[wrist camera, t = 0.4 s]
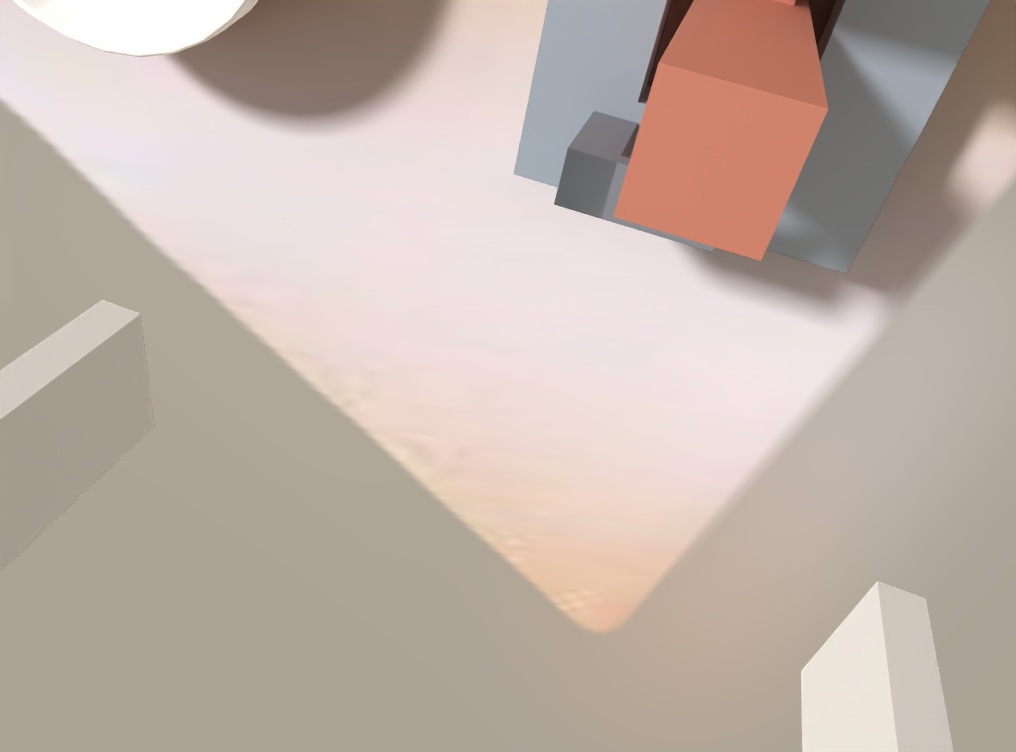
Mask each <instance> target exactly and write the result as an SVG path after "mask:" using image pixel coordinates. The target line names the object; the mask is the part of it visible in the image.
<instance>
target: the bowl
mask: <svg viewBox="0 0 1016 752" xmlns="http://www.w3.org/2000/svg"><path fill="white" fill-rule="evenodd" d="M13 1H14V2H15V3H17V4H18V5H19V6H20V7H22V8H23V9H24V10H25V11H26V12H28V13H29V14H30V15H31V16H33V17H35V18H36V19H38V20H40V21H41V22H43V23H45V24H46V25H48V26H50V27H52V28H53V29H55V30H57V31H58V32H60V33H62V34H63V35H65V36H67V37H68V38H70V39H73V40H76V41H78V42H81V43H84V44H86V45H89V46H92V47H94V48H97V49H100V50H102V51H105V52H111V53H117V54H124V55H131V56H137V57H146V56H156V55H167V54H175V53H177V52H180V51H183V50H185V49H188V48H190V47H193V46H195V45H198V44H201V43H203V42H206V41H207V40H209V39H211V38H212V37H214V36H216V35H217V34H219V33H221V32H223V31H224V30H226V29H227V28H228V27H229V26H231V25H232V24H233V23H235V22H236V21H237V20H239V19H240V18H241V17H243V16H244V15H245V14H247V13H248V12H249V11H250V10H252V8H253V7H254V6H255V4H256V3H257V2H258V1H259V0H13Z"/></svg>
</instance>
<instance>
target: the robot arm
mask: <svg viewBox="0 0 1016 752" xmlns="http://www.w3.org/2000/svg"><path fill="white" fill-rule="evenodd" d="M154 426H155V424H154V416H153V408H152V400H151V392H150V385H149V376H148V369H147V360H146V352H145V344H144V336H143V329H142V320H141V314H140V313H137V312H135V311H132V310H129V309H126V308H124V307H121V306H118V305H115V304H112V303H110V302H107V301H104V300H101V301H100V302H99V303H97V304H96V305H94V306H93V307H91V308H90V309H88V310H87V311H85V313H83V314H81V315H80V316H78V317H77V318H75V319H74V320H73V321H71V322H70V323H68V324H67V325H65V326H64V327H62V328H61V329H59V330H58V331H57V332H55V333H54V334H52V335H51V336H49V337H48V338H46V339H45V340H43V341H42V342H41V343H39V344H38V345H36V346H35V347H33V348H32V349H30V350H29V351H28V352H26V353H25V354H23V355H22V356H20V357H19V358H17V359H16V360H14V361H13V362H12V363H10V364H9V365H7V366H6V367H4V368H3V369H1V370H0V572H1V571H3V570H4V569H5V568H6V567H7V566H8V565H9V564H10V563H11V562H12V561H13V560H14V559H15V558H16V557H17V556H18V555H19V554H20V553H22V551H24V550H25V548H27V547H28V546H29V545H30V544H31V543H32V542H33V541H34V540H35V539H36V538H37V537H38V536H39V535H40V534H42V533H43V532H44V531H45V530H46V529H47V528H48V527H49V526H50V525H51V524H52V523H53V522H54V521H55V520H56V519H57V518H58V517H59V516H61V515H62V514H63V513H64V512H65V511H66V510H67V509H68V508H69V507H70V506H71V505H72V504H73V503H74V502H75V501H76V500H77V499H78V498H79V497H80V496H81V495H83V494H84V493H85V492H86V491H87V490H88V489H89V488H90V487H91V486H92V485H93V484H94V483H95V482H96V481H97V480H98V479H99V478H101V477H102V476H103V475H104V474H105V473H106V472H107V471H108V470H109V469H110V468H111V467H112V466H113V465H114V464H115V463H116V462H117V461H118V460H120V458H122V456H124V455H125V454H126V453H127V452H128V451H129V450H130V449H131V448H132V447H133V446H134V445H135V444H136V443H138V442H139V441H140V439H142V438H143V437H144V436H145V435H146V434H147V433H148V432H149V431H150V430H151V429H152V428H153V427H154ZM801 690H802V691H801V694H802V747H803V752H953V747H952V741H951V736H950V730H949V725H948V719H947V714H946V709H945V702H944V697H943V692H942V686H941V680H940V675H939V670H938V664H937V658H936V653H935V647H934V642H933V637H932V631H931V626H930V620H929V614H928V609H927V604H926V598H923V597H920V596H917V595H914V594H912V593H909V592H906V591H904V590H900V589H898V588H895V587H892V586H890V585H887V584H884V583H881V582H879V581H877V582H876V584H875V585H874V586H873V587H872V588H871V589H870V590H869V592H868V593H867V594H866V595H865V596H864V598H863V599H862V600H861V601H860V602H859V604H858V605H857V606H856V607H855V608H854V609H853V611H852V612H851V613H850V614H849V615H848V616H847V618H846V619H845V620H844V621H843V622H842V624H841V625H840V626H839V627H838V628H837V629H836V631H835V632H834V633H833V634H832V635H831V637H830V638H829V639H828V640H827V641H826V643H825V644H824V645H823V646H822V647H821V648H820V650H819V651H818V652H817V653H816V654H815V656H814V657H813V658H812V659H811V660H810V661H809V663H808V664H807V665H806V666H805V668H804V669H803V670H802V671H801Z"/></svg>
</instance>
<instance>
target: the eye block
mask: <svg viewBox="0 0 1016 752" xmlns="http://www.w3.org/2000/svg"><path fill="white" fill-rule="evenodd" d="M990 1H991V0H836V2H835V4H834V7H833V9H832V11H831V14H830V16H829V19H828V21H827V24H826V26H825V28H824V31H823V33H822V36H821V38H820V41H819V43H818V45H817V50H818V56H819V61H820V66H821V72H822V77H823V83H824V88H825V93H826V99H827V104H828V111H827V113H826V115H825V118H824V120H823V122H822V124H821V127H820V129H819V131H818V134H817V136H816V138H815V140H814V143H813V145H812V147H811V149H810V152H809V154H808V156H807V158H806V161H805V163H804V165H803V167H802V170H801V172H800V174H799V177H798V179H797V181H796V183H795V186H794V188H793V190H792V192H791V195H790V197H789V199H788V201H787V204H786V206H785V208H784V211H783V213H782V215H781V217H780V220H779V222H778V224H777V226H776V229H775V231H774V233H773V235H772V238H771V240H770V242H769V244H768V247H767V249H766V250H769V251H772V252H776V253H779V254H782V255H786V256H789V257H792V258H796V259H799V260H802V261H806V262H809V263H813V264H816V265H819V266H823V267H826V268H829V269H833V270H836V271H839V272H843V273H846V274H847V272H848V270H849V269H850V267H851V265H852V263H853V261H854V259H855V257H856V255H857V253H858V251H859V250H860V248H861V246H862V244H863V242H864V240H865V238H866V236H867V234H868V232H869V231H870V229H871V227H872V225H873V223H874V221H875V219H876V217H877V215H878V213H879V212H880V210H881V208H882V206H883V204H884V202H885V200H886V198H887V196H888V194H889V193H890V191H891V189H892V187H893V185H894V183H895V181H896V179H897V177H898V175H899V174H900V172H901V170H902V168H903V166H904V164H905V162H906V160H907V158H908V156H909V155H910V153H911V151H912V149H913V147H914V145H915V143H916V141H917V139H918V137H919V136H920V134H921V132H922V130H923V128H924V126H925V124H926V122H927V120H928V118H929V117H930V115H931V113H932V111H933V109H934V107H935V105H936V103H937V101H938V99H939V98H940V96H941V94H942V92H943V90H944V88H945V86H946V84H947V82H948V80H949V79H950V77H951V75H952V73H953V71H954V69H955V67H956V65H957V63H958V61H959V60H960V58H961V56H962V54H963V52H964V50H965V48H966V46H967V44H968V42H969V41H970V39H971V37H972V35H973V33H974V31H975V29H976V27H977V25H978V23H979V22H980V20H981V18H982V16H983V14H984V12H985V10H986V8H987V6H988V4H989V3H990ZM671 2H672V0H548V5H547V10H546V15H545V20H544V25H543V30H542V35H541V40H540V45H539V50H538V55H537V60H536V65H535V70H534V75H533V80H532V85H531V90H530V95H529V100H528V105H527V110H526V115H525V120H524V125H523V131H522V136H521V141H520V146H519V151H518V156H517V161H516V166H515V171H514V174H515V175H518V176H522V177H525V178H528V179H532V180H535V181H538V182H542V183H545V184H548V185H552V186H555V187H558V191H557V195H556V199H555V203H554V205H558V206H561V207H564V208H568V209H571V210H574V211H578V212H581V213H584V214H588V215H591V216H594V217H597V218H601V219H604V220H607V221H611V222H614V223H617V224H621V225H624V226H627V227H631V228H634V229H637V230H641V231H644V232H647V233H650V234H654V235H657V236H660V237H664V238H667V239H670V240H674V241H677V242H680V243H684V244H687V245H690V246H693V247H697V248H700V249H703V250H707V251H710V252H713V249H714V247H712V246H709V245H705V244H702V243H699V242H695V241H692V240H689V239H686V238H682V237H679V236H676V235H672V234H669V233H666V232H662V231H659V230H656V229H652V228H649V227H646V226H642V225H639V224H636V223H632V222H629V221H626V220H622V219H619V218H616V217H613V216H614V213H615V209H616V206H617V202H618V199H619V196H620V192H621V189H622V185H623V182H624V179H625V175H626V172H627V168H628V165H629V162H630V158H631V155H632V151H633V148H634V145H635V141H636V138H637V134H638V131H639V128H640V124H641V121H642V117H643V114H644V111H645V107H646V104H647V100H648V97H649V94H650V90H651V86H648V85H647V84H648V81H649V78H650V74H651V71H652V67H653V64H654V60H655V57H656V53H657V50H658V47H659V43H660V40H661V36H662V33H663V29H664V26H665V22H666V19H667V16H668V12H669V9H670V5H671Z"/></svg>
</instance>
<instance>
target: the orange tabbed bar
mask: <svg viewBox="0 0 1016 752" xmlns="http://www.w3.org/2000/svg"><path fill="white" fill-rule="evenodd" d="M827 111H828V104H827V99H826V93H825V88H824V83H823V77H822V72H821V66H820V61H819V56H818V50H817V45H816V40H815V34H814V29H813V24H812V18H811V13H810V8H809V2H808V0H694V1H693V3H692V4H691V6H690V8H689V10H688V12H687V13H686V15H685V17H684V19H683V20H682V22H681V24H680V26H679V27H678V29H677V31H676V33H675V34H674V36H673V38H672V40H671V42H670V43H669V45H668V47H667V49H666V50H665V52H664V54H663V56H662V57H661V59H660V61H659V63H658V66H657V70H656V73H655V77H654V80H653V83H652V87H651V90H650V94H649V97H648V100H647V104H646V107H645V111H644V114H643V117H642V121H641V124H640V128H639V131H638V134H637V138H636V141H635V145H634V148H633V151H632V155H631V158H630V162H629V165H628V168H627V172H626V175H625V179H624V182H623V185H622V189H621V192H620V196H619V199H618V202H617V206H616V209H615V213H614V216H613V217H616V218H619V219H622V220H626V221H629V222H632V223H636V224H639V225H642V226H646V227H649V228H652V229H656V230H659V231H662V232H666V233H669V234H672V235H676V236H679V237H682V238H686V239H689V240H692V241H695V242H699V243H702V244H705V245H709V246H712V247H715V248H719V249H722V250H725V251H729V252H732V253H735V254H739V255H742V256H745V257H749V258H752V259H755V260H759V261H761V260H762V258H763V256H764V254H765V251H766V249H767V247H768V244H769V242H770V240H771V238H772V235H773V233H774V231H775V229H776V226H777V224H778V222H779V220H780V217H781V215H782V213H783V211H784V208H785V206H786V204H787V201H788V199H789V197H790V195H791V192H792V190H793V188H794V186H795V183H796V181H797V179H798V177H799V174H800V172H801V170H802V167H803V165H804V163H805V161H806V158H807V156H808V154H809V152H810V149H811V147H812V145H813V143H814V140H815V138H816V136H817V134H818V131H819V129H820V127H821V124H822V122H823V120H824V118H825V115H826V113H827Z"/></svg>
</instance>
